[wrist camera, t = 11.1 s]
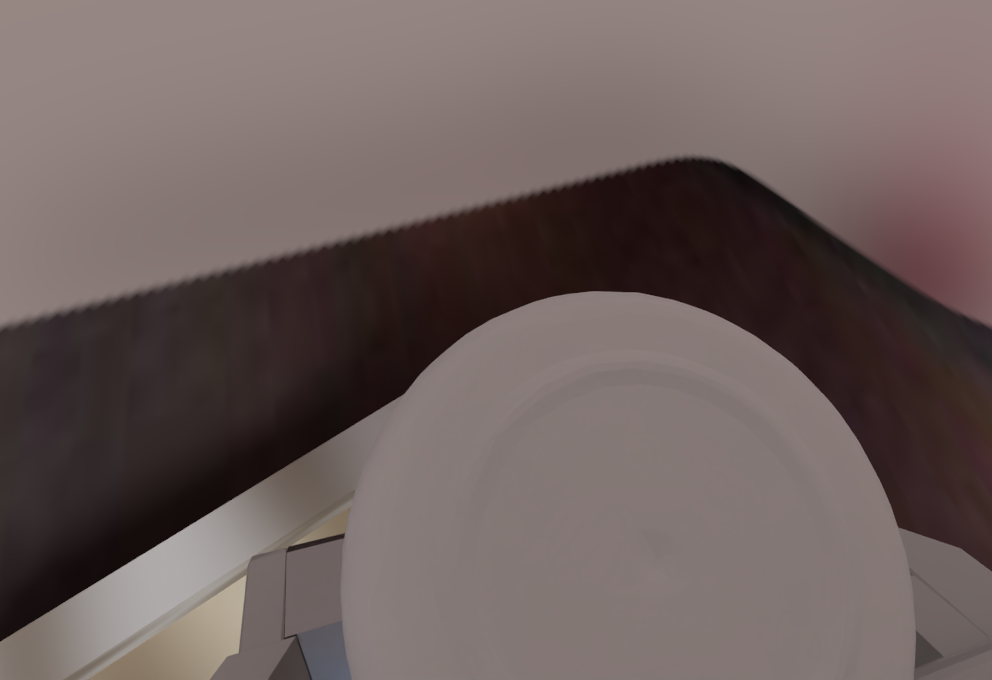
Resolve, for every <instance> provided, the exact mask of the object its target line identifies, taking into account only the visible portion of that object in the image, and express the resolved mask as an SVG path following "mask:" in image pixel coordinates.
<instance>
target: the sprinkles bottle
mask: <svg viewBox="0 0 992 680" xmlns="http://www.w3.org/2000/svg"><path fill="white" fill-rule="evenodd" d="M340 593H341V609H342V625H343V634H344V642H345V650H346V657H347V661H348V665H349V670H350V674H351V678H352V680H914V668H915V650H916V627H915V613H914V600H913V587H912V581H911V576H910V571H909V566H908V560H907V555H906V552H905V548H904V545H903V542H902V539H901V536H900V533H899V530H898V527H897V524H896V521H895V517H894V514H893V511H892V508H891V505H890V503H889V501H888V498H887V496H886V494H885V491H884V489H883V487H882V484H881V482H880V480H879V478H878V476H877V475H876V473H875V471H874V469H873V467H872V465H871V463H870V461H869V460H868V458H867V456H866V454H865V452H864V450H863V449H862V447H861V445H860V443H859V441H858V440H857V438H856V437H855V435H854V434H853V432H852V431H851V429H850V428H849V426H848V425H847V424H846V422H845V421H844V419H843V418H842V416H841V415H840V414H839V412H838V411H837V410H836V409H835V407H834V406H833V405H832V404H831V402H830V401H829V400H828V399H827V398H826V397H825V396H824V395H823V394H822V393H821V392H820V391H819V389H818V388H817V387H816V386H815V385H814V384H813V383H812V382H811V381H810V380H809V379H808V378H807V377H806V376H805V375H804V374H803V373H802V372H801V371H800V370H799V369H798V368H797V367H796V366H795V365H793V364H792V363H791V362H790V361H788V360H787V359H786V358H785V357H783V356H782V355H781V354H779V353H778V352H777V351H775V350H774V349H773V348H771V347H770V346H768V345H767V344H766V343H764V342H763V341H761V340H760V339H759V338H757V337H756V336H754V335H753V334H751V333H749V332H747V331H745V330H744V329H742V328H740V327H738V326H736V325H734V324H733V323H731V322H729V321H727V320H725V319H723V318H721V317H719V316H717V315H714V314H712V313H710V312H707V311H705V310H702V309H699V308H696V307H693V306H690V305H687V304H684V303H682V302H679V301H676V300H671V299H666V298H662V297H657V296H652V295H647V294H642V293H637V292H601V291H591V292H582V293H573V294H566V295H560V296H554V297H549V298H546V299H542V300H539V301H535V302H532V303H530V304H527V305H525V306H522V307H520V308H517V309H515V310H512V311H510V312H507V313H505V314H503V315H500V316H498V317H495V318H493V319H491V320H489V321H488V322H486V323H484V324H483V325H481V326H479V327H478V328H476V329H474V330H473V331H471V332H469V333H467V334H466V335H465V336H463V337H462V338H461V339H459V340H458V341H457V342H456V343H454V344H453V345H452V346H451V347H450V348H448V349H447V350H446V351H445V352H444V353H442V354H441V355H440V356H439V357H438V358H437V359H435V360H434V361H433V362H432V363H431V364H430V365H429V366H428V367H427V368H426V369H425V370H424V371H423V372H422V373H421V374H420V375H419V376H418V377H417V379H416V380H415V381H414V383H413V384H412V385H411V386H410V388H409V389H408V390H407V391H406V393H405V394H404V395H403V397H402V398H401V399H400V401H399V402H398V403H397V405H396V406H395V408H394V409H393V411H392V412H391V414H390V415H389V417H388V418H387V420H386V421H385V423H384V424H383V426H382V428H381V430H380V432H379V434H378V436H377V438H376V439H375V441H374V443H373V445H372V447H371V449H370V452H369V454H368V457H367V459H366V462H365V464H364V467H363V469H362V472H361V475H360V477H359V480H358V483H357V485H356V489H355V493H354V497H353V501H352V505H351V509H350V513H349V517H348V522H347V527H346V532H345V537H344V542H343V551H342V570H341V589H340Z"/></svg>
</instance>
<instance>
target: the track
mask: <svg viewBox="0 0 992 680" xmlns="http://www.w3.org/2000/svg"><path fill="white" fill-rule="evenodd" d="M402 397H403V395H402V396H400V397H399V398H397V399H395V400H394V401H392V402H391V403H389V404H387V405H386V406H384V407H382V408H381V409H379V410H378V411H376V412H374V413H373V414H371V415H369V416H368V417H366V418H364V419H363V420H361V421H360V422H358V423H356V424H355V425H353V426H351V427H350V428H348V429H347V430H345V431H343V432H342V433H340V434H338V435H337V436H335V437H333V438H332V439H330V440H329V441H327V442H325V443H324V444H322V445H320V446H319V447H317V448H316V449H314V450H312V451H311V452H309V453H307V454H306V455H304V456H302V457H301V458H299V459H298V460H296V461H294V462H293V463H291V464H289V465H288V466H286V467H285V468H283V469H281V470H280V471H278V472H276V473H275V474H273V475H271V476H270V477H268V478H267V479H265V480H263V481H262V482H260V483H258V484H257V485H255V486H254V487H252V488H250V489H249V490H247V491H245V492H244V493H242V494H240V495H239V496H237V497H236V498H234V499H232V500H231V501H229V502H227V503H226V504H224V505H223V506H221V507H219V508H218V509H216V510H214V511H213V512H211V513H209V514H208V515H206V516H205V517H203V518H201V519H200V520H198V521H196V522H195V523H193V524H192V525H190V526H188V527H187V528H185V529H183V530H182V531H180V532H178V533H177V534H175V535H174V536H172V537H170V538H169V539H167V540H165V541H164V542H162V543H161V544H159V545H157V546H156V547H154V548H152V549H151V550H149V551H147V552H146V553H144V554H143V555H141V556H139V557H138V558H136V559H134V560H133V561H131V562H129V563H128V564H126V565H125V566H123V567H121V568H120V569H118V570H116V571H115V572H113V573H112V574H110V575H108V576H107V577H105V578H103V579H102V580H100V581H98V582H97V583H95V584H94V585H92V586H90V587H89V588H87V589H85V590H84V591H82V592H81V593H79V594H77V595H76V596H74V597H72V598H71V599H69V600H67V601H66V602H64V603H63V604H61V605H59V606H58V607H56V608H54V609H53V610H51V611H50V612H48V613H46V614H45V615H43V616H41V617H40V618H38V619H36V620H35V621H33V622H32V623H30V624H28V625H27V626H25V627H23V628H22V629H20V630H19V631H17V632H15V633H14V634H12V635H10V636H9V637H7V638H5V639H4V640H2V641H1V642H0V680H210V678H211V677H212V676H213V674H214V673H215V672H216V670H217V669H218V668H219V666H220V665H221V664H222V662H223V661H224V660H225V658H226V657H227V656H230V655H233V654H237V653H239V644H240V635H241V625H242V615H243V606H244V596H245V586H246V577H247V567H248V563H249V561H250V559H251V557H252V556H254V555H258V554H263V553H267V552H271V551H275V550H279V549H283V548H288V547H289V546H293V545H297V544H301V543H305V542H310V541H314V540H318V539H322V538H326V537H330V536H335V535H339V534H343V533H345V532H346V527H347V522H348V517H349V513H350V509H351V505H352V501H353V497H354V493H355V489H356V485H357V483H358V480H359V477H360V475H361V472H362V469H363V467H364V464H365V462H366V459H367V457H368V454H369V452H370V449H371V447H372V445H373V443H374V441H375V439H376V438H377V436H378V434H379V432H380V430H381V428H382V426H383V424H384V423H385V421H386V420H387V418H388V417H389V415H390V414H391V412H392V411H393V409H394V408H395V406H396V405H397V403H398V402H399V401H400V399H401V398H402Z"/></svg>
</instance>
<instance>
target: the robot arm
mask: <svg viewBox="0 0 992 680" xmlns="http://www.w3.org/2000/svg"><path fill="white" fill-rule="evenodd" d="M898 530H899V533H900V536H901V539H902V542H903V545H904V548H905V552H906V555H907V560H908V566H909V571H910V576H911V581H912V587H913V600H914V613H915V627H916V650H915V668H914V680H992V572H991V571H990V570H989V569H987V568H986V567H985V566H983V565H982V564H981V563H979V562H978V561H977V560H975V559H974V558H972V557H971V556H970V555H968V554H967V553H966V552H964V551H963V550H962V549H960V548H957V547H954V546H951V545H948V544H945V543H942V542H939V541H937V540H934V539H931V538H928V537H925V536H922V535H919V534H916V533H913V532H910V531H907V530H904V529H901V528H898ZM344 537H345V533H343V534H339V535H335V536H330V537H326V538H322V539H318V540H314V541H310V542H305V543H301V544H297V545H293V546H289V547H288V548H283V549H279V550H275V551H271V552H267V553H263V554H258V555H254V556H252V557H251V559H250V561H249V563H248V567H247V577H246V586H245V596H244V606H243V615H242V625H241V635H240V644H239V653H237V654H233V655H230V656H227V657H226V658H225V660H224V661H223V662H222V664H221V665H220V666H219V668H218V669H217V670H216V672H215V673H214V674H213V676H212V677H211V678H210V680H352V678H351V674H350V670H349V665H348V661H347V657H346V650H345V642H344V634H343V625H342V609H341V593H340V589H341V570H342V551H343V542H344Z"/></svg>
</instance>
